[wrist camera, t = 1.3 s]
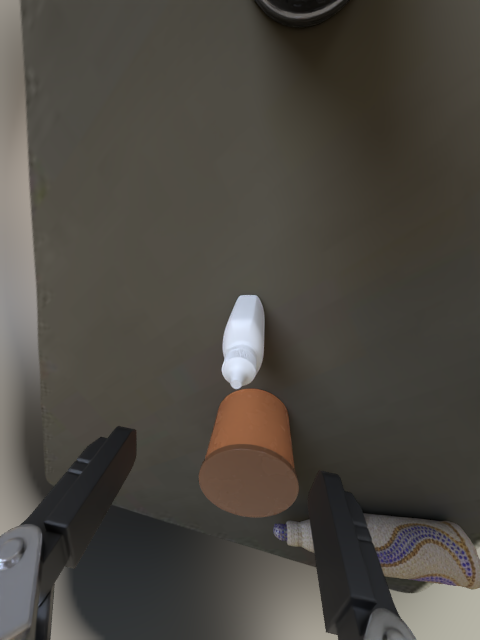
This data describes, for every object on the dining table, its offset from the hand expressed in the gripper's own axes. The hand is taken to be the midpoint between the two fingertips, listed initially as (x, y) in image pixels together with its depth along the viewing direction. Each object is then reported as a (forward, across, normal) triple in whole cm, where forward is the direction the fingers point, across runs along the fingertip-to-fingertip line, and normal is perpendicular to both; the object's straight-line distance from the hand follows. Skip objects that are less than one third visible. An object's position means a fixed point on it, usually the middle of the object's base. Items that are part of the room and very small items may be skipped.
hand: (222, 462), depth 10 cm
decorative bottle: (+18, -23, +28) cm, 40 cm away
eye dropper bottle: (+18, 0, 0) cm, 18 cm away
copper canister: (+18, -3, +14) cm, 22 cm away
